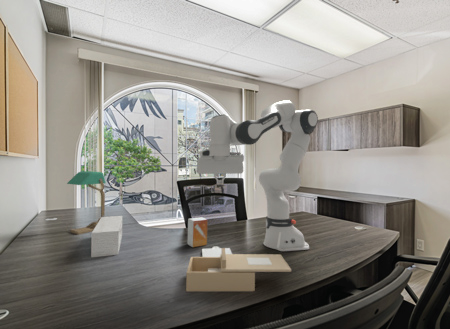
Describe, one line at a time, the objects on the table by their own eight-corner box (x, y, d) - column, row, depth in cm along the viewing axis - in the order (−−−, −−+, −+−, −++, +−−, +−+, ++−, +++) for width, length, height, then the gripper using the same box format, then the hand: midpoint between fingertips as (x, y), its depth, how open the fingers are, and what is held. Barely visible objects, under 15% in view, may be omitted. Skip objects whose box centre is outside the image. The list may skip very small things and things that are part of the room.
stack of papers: (118, 255, 106) (118, 230, 106) (91, 258, 102) (91, 232, 102) (122, 234, 136) (122, 215, 136) (101, 236, 132) (101, 216, 132)
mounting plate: (201, 250, 113) (201, 246, 113) (228, 250, 115) (228, 246, 115) (203, 267, 95) (203, 262, 95) (235, 266, 97) (235, 261, 97)
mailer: (249, 272, 90) (249, 257, 90) (254, 291, 77) (255, 272, 77) (190, 272, 89) (190, 256, 89) (186, 291, 76) (186, 272, 76)
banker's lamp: (114, 228, 148) (115, 171, 148) (78, 236, 130) (79, 172, 130) (99, 224, 156) (100, 171, 156) (64, 231, 139) (65, 171, 139)
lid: (280, 256, 90) (280, 247, 90) (291, 271, 77) (291, 261, 77) (220, 256, 90) (220, 247, 90) (221, 271, 77) (221, 261, 77)
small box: (192, 247, 116) (193, 221, 116) (187, 244, 121) (187, 218, 121) (207, 245, 120) (207, 219, 120) (201, 241, 126) (201, 216, 126)
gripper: (242, 152, 107) (243, 183, 107) (197, 152, 106) (197, 183, 106) (244, 151, 100) (244, 184, 101) (195, 152, 99) (196, 185, 100)
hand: (220, 184), depth 103 cm, fingers closed
